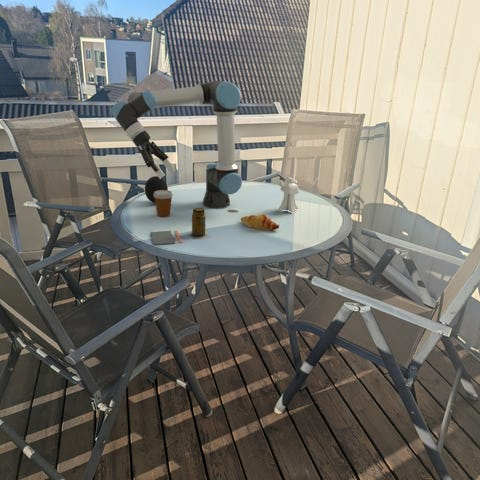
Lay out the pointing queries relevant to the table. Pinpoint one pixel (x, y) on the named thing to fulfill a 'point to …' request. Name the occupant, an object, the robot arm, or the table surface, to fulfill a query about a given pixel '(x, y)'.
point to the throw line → (178, 237)
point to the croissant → (259, 222)
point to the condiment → (198, 223)
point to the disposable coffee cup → (163, 202)
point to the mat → (162, 237)
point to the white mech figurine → (289, 194)
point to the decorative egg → (154, 187)
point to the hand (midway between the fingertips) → (168, 174)
